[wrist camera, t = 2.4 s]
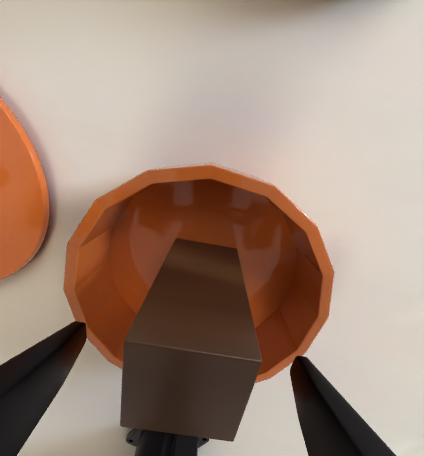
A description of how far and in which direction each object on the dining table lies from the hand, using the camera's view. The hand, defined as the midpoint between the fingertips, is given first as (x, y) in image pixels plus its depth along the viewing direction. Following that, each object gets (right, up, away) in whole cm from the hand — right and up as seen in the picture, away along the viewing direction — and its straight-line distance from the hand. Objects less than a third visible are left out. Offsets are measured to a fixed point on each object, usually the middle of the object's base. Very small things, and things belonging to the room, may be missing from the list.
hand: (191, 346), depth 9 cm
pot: (0, +2, +6) cm, 7 cm away
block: (0, +2, +6) cm, 6 cm away
